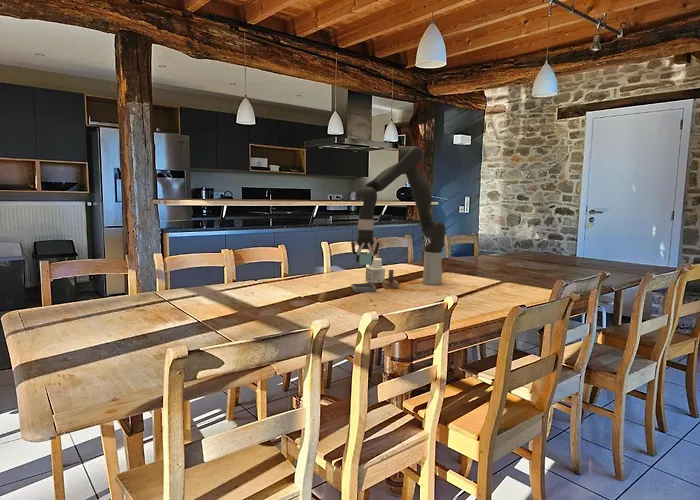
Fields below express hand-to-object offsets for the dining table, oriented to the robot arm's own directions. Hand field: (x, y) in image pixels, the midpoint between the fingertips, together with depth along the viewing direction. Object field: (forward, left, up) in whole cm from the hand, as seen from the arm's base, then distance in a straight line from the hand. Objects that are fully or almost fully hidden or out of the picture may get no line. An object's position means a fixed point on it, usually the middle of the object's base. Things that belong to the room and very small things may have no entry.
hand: (364, 262), depth 235 cm
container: (-10, -21, -14) cm, 27 cm away
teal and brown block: (-15, -6, -14) cm, 21 cm away
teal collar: (0, 0, -1) cm, 1 cm away
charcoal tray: (0, 0, -14) cm, 14 cm away
